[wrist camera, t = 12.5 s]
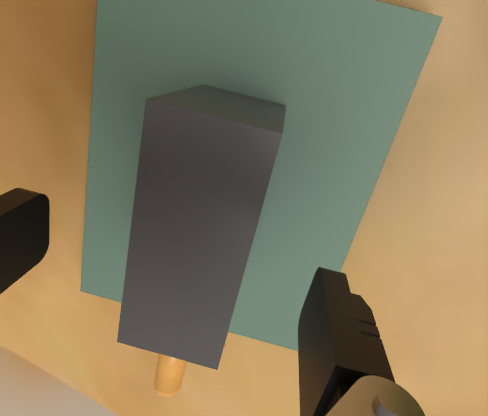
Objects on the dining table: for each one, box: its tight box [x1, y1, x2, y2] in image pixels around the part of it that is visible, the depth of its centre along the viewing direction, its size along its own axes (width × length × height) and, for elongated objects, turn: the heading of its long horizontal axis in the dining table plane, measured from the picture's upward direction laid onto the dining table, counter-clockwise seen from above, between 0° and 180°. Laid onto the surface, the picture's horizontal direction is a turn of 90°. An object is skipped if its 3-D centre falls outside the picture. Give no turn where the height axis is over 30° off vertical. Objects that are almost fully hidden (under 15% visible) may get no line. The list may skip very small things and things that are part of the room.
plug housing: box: [117, 84, 286, 397], centre depth 15 cm, size 12×4×7 cm, turn 167°
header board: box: [80, 0, 443, 351], centre depth 17 cm, size 18×14×6 cm
